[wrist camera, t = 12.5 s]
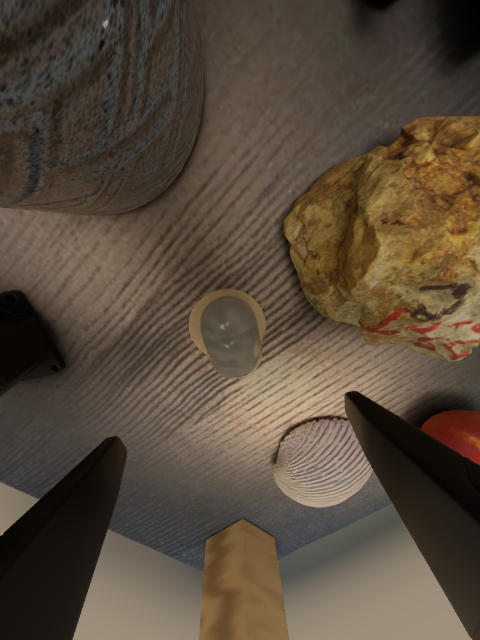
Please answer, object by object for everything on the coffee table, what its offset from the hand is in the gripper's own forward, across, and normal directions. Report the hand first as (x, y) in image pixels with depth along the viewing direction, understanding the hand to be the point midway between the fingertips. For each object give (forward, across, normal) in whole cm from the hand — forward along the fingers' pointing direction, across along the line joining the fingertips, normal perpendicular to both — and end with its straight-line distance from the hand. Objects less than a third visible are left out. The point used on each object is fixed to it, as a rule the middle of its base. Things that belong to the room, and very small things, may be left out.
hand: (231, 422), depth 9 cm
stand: (+9, +5, +28) cm, 30 cm away
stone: (+8, 0, 0) cm, 9 cm away
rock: (+9, -9, -3) cm, 13 cm away
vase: (+9, +4, -15) cm, 18 cm away
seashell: (+9, -6, +16) cm, 19 cm away
